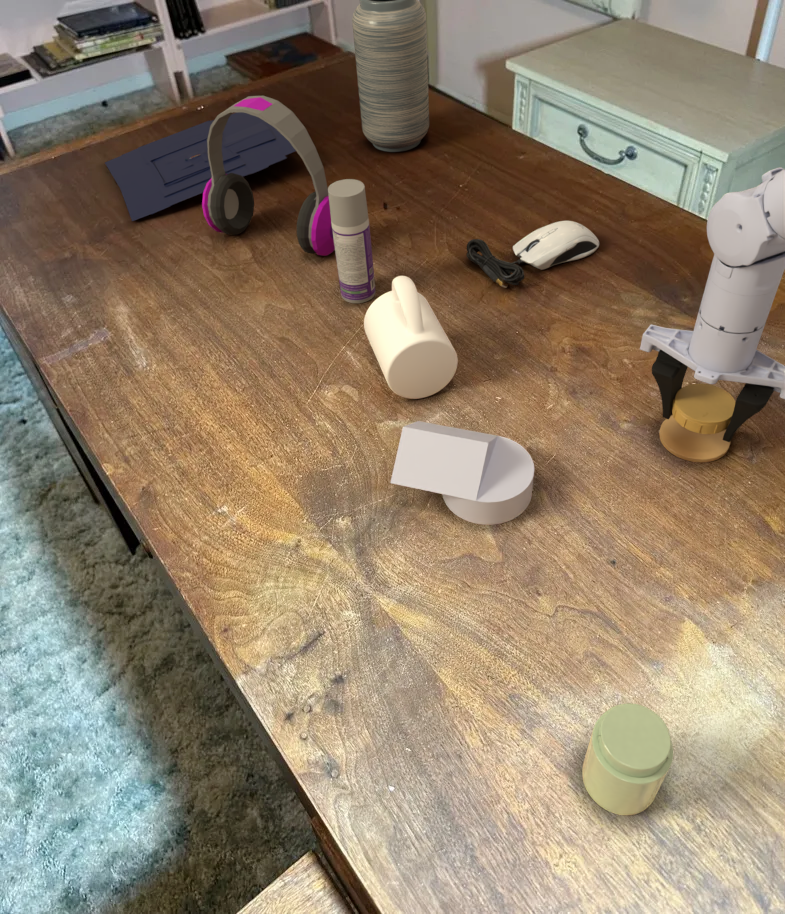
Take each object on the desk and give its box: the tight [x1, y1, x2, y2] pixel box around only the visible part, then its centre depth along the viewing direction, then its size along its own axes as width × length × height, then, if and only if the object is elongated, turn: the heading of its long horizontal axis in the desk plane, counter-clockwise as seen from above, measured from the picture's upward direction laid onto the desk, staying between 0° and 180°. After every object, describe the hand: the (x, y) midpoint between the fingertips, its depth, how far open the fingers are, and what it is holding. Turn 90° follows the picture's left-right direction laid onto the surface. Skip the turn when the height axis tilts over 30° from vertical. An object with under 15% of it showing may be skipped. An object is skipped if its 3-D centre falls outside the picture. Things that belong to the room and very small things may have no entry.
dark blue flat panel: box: [104, 112, 297, 222], centre depth 130 cm, size 24×30×4 cm
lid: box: [672, 382, 736, 434], centre depth 77 cm, size 6×6×2 cm
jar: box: [581, 702, 674, 816], centre depth 54 cm, size 5×5×7 cm
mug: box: [363, 275, 459, 400], centre depth 86 cm, size 8×10×12 cm
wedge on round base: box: [389, 420, 535, 526], centre depth 75 cm, size 9×7×13 cm
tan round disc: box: [658, 414, 731, 463], centre depth 80 cm, size 7×7×1 cm
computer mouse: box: [465, 220, 600, 289], centre depth 104 cm, size 10×18×4 cm, turn 118°
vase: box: [351, 0, 430, 153], centre depth 126 cm, size 12×12×23 cm
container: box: [327, 178, 377, 304], centre depth 97 cm, size 5×5×15 cm
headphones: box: [201, 95, 335, 257], centre depth 106 cm, size 21×9×20 cm, turn 63°
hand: (698, 423), depth 79 cm, fingers closed on lid, 6 cm apart
